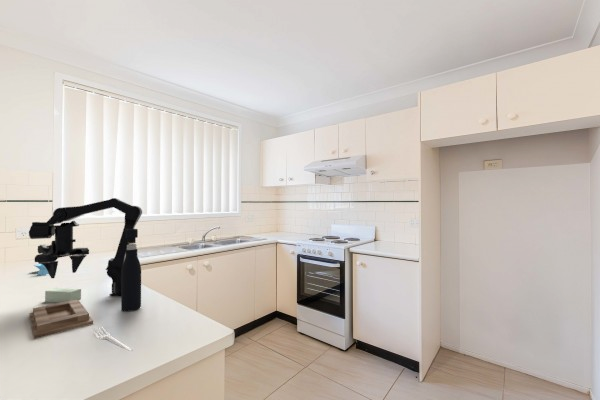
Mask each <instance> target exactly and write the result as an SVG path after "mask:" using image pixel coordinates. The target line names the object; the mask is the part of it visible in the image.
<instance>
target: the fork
mask: <svg viewBox="0 0 600 400" xmlns="http://www.w3.org/2000/svg"><path fill="white" fill-rule="evenodd" d="M93 334H94V336H95V338H96V339H99V337H102V338H100V339H99V340H108V341H110V342H111V343H113V344H115V345H117V346H119V347H121V348H123V349H125V350H127V351H129V352H131V351H132V352H133V348H131V347H129V346H127V345H126V344H124V343H122V342H121V341H119V340H118V339H116V338H115V337H113V336H112V334H111V333H109V332H108V331H107V330H106V329H105V328H104V327H103V326H102V325H101V328H100V327H98V328H97V327H96V328H95V329H94V328H93ZM99 335H100V336H99ZM103 336H105V337H103Z"/></svg>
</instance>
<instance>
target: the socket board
mask: <svg viewBox="0 0 600 400" xmlns="http://www.w3.org/2000/svg"><path fill="white" fill-rule="evenodd" d="M28 314H29V320H30V326H31V329H32V335H33V339H39V338H43V337H47V336H51V335H55V334H60V333H62V332H66V331H70V330H75V329H79V328H84V327H86V326H90V325H94V320H93V319H92V317H91V315H90V313H89V311H88V310H87V309H86V308H85V306H84V305H83V304H82V302H81V301H80V300H78V299H77V300H72V301H67V302H56V303H51V304H48V305H41V306H38V307H33V308H32V312H29V313H28Z"/></svg>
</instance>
